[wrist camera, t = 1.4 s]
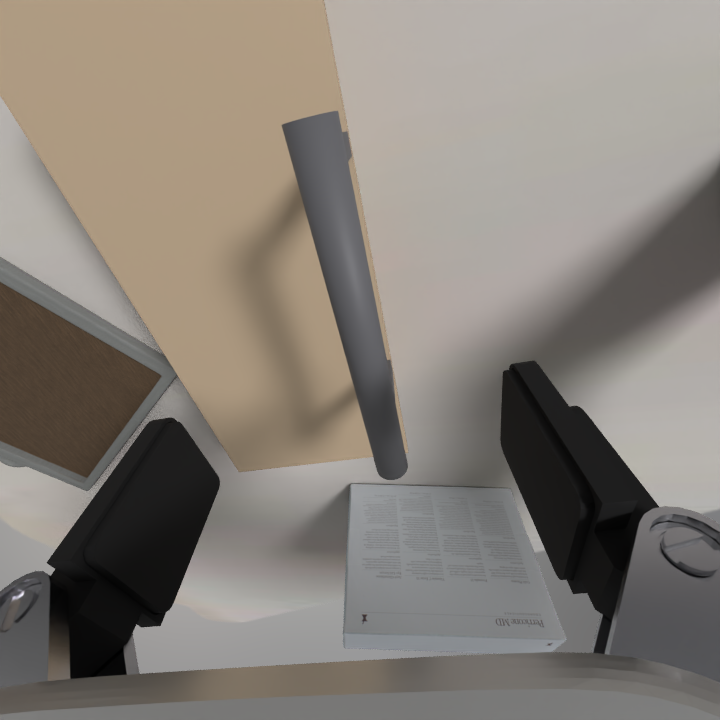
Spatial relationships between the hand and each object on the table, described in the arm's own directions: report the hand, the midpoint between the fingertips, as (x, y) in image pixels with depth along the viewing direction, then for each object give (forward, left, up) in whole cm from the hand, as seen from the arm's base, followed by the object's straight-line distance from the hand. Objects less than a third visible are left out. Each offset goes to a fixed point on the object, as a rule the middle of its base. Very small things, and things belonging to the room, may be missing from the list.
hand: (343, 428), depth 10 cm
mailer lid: (+6, 0, -13) cm, 14 cm away
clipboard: (+38, +10, -21) cm, 45 cm away
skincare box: (-2, +35, -21) cm, 41 cm away
